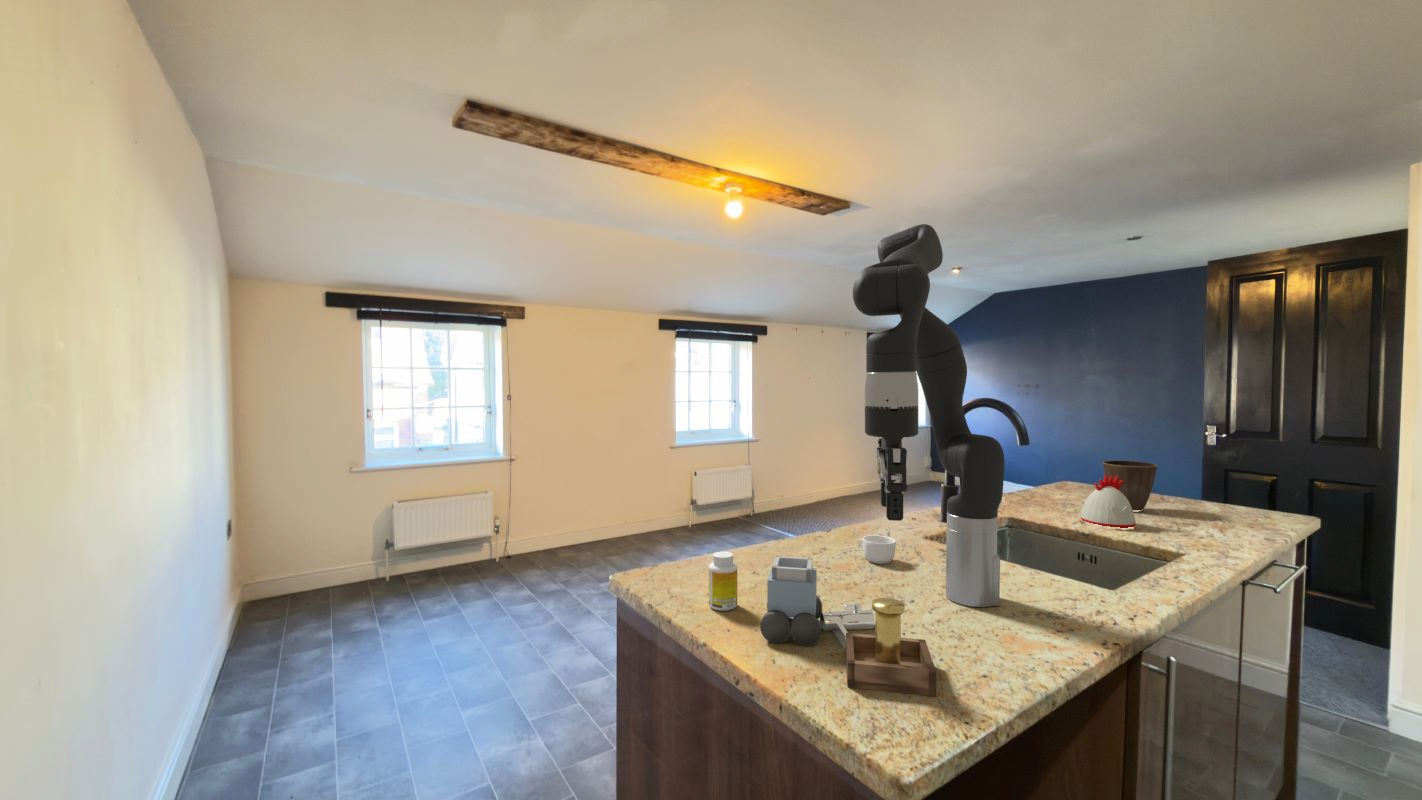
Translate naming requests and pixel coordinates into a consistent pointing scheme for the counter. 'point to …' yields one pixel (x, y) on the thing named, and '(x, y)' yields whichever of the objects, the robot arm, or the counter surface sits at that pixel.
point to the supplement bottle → (723, 582)
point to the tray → (890, 667)
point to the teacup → (878, 548)
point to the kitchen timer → (1108, 505)
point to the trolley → (792, 602)
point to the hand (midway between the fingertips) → (891, 512)
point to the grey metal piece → (847, 621)
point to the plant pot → (1133, 480)
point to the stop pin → (888, 630)
